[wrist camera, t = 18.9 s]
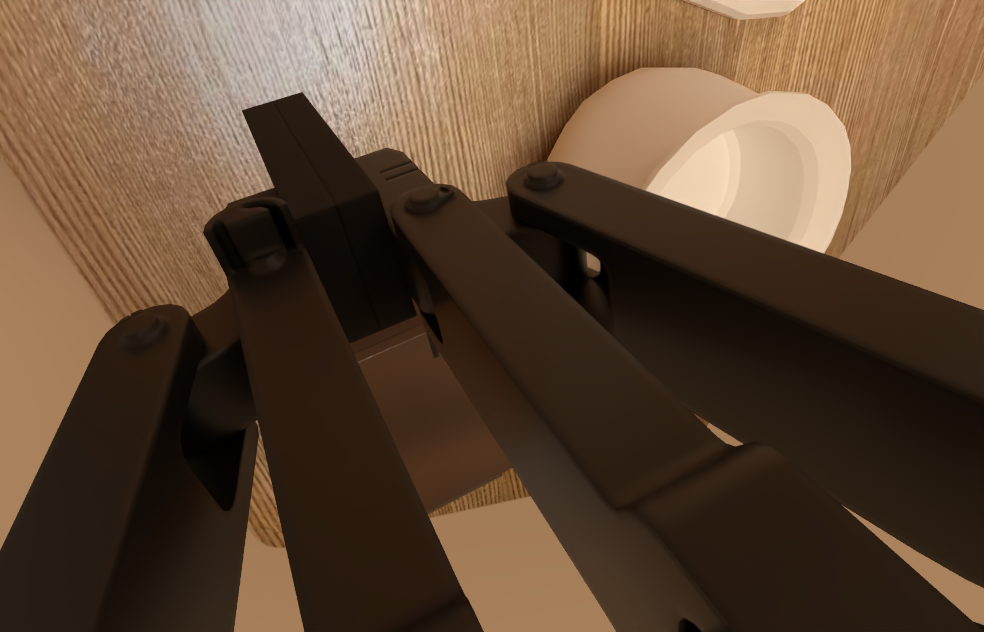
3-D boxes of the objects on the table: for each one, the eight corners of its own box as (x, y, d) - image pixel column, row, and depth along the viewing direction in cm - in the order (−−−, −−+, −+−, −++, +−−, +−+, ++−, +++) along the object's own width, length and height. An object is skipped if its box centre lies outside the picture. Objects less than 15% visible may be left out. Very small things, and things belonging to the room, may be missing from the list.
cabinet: (490, 372, 51) (547, 450, 44) (348, 439, 48) (384, 534, 41) (452, 223, 42) (517, 291, 35) (274, 295, 39) (305, 385, 32)
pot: (763, 54, 46) (917, 94, 37) (697, 259, 55) (808, 331, 46) (505, 41, 37) (625, 90, 28) (477, 290, 46) (560, 388, 37)
